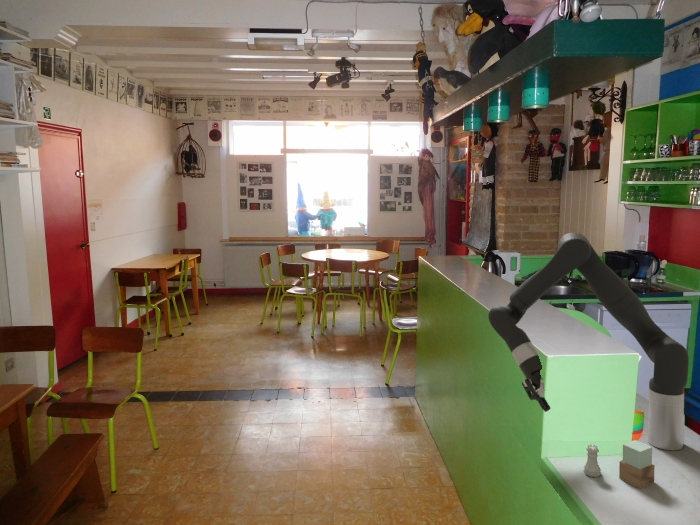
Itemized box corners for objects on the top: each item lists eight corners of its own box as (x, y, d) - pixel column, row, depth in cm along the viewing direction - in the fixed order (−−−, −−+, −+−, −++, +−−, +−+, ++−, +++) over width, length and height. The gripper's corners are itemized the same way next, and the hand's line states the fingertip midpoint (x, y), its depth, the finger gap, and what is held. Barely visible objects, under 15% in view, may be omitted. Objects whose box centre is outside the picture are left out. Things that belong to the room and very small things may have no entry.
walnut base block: (633, 472, 146) (633, 455, 146) (654, 482, 141) (654, 464, 140) (619, 478, 144) (619, 461, 143) (639, 488, 138) (640, 470, 138)
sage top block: (634, 456, 145) (634, 439, 144) (651, 464, 141) (652, 447, 140) (622, 461, 143) (622, 444, 142) (639, 469, 138) (640, 451, 138)
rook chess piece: (602, 478, 144) (603, 450, 143) (585, 477, 145) (585, 449, 144) (598, 469, 148) (599, 443, 147) (581, 469, 149) (582, 442, 148)
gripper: (518, 358, 158) (548, 406, 149) (552, 350, 165) (582, 396, 156) (506, 370, 164) (534, 418, 155) (539, 362, 170) (567, 407, 161)
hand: (558, 407), depth 155 cm, fingers open, 8 cm apart
